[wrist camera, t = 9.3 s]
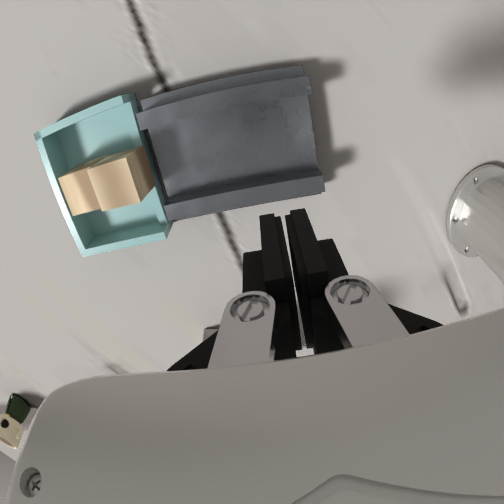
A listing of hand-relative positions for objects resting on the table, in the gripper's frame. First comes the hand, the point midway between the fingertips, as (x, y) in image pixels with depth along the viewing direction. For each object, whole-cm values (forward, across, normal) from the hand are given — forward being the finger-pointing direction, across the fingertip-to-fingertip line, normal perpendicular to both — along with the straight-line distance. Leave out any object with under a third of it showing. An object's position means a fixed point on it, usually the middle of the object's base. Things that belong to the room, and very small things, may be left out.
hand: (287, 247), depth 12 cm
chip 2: (+17, +12, 0) cm, 21 cm away
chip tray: (+19, +16, 0) cm, 25 cm away
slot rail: (+19, +3, -1) cm, 19 cm away
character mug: (+19, +67, +43) cm, 82 cm away
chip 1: (+16, +15, 0) cm, 22 cm away
